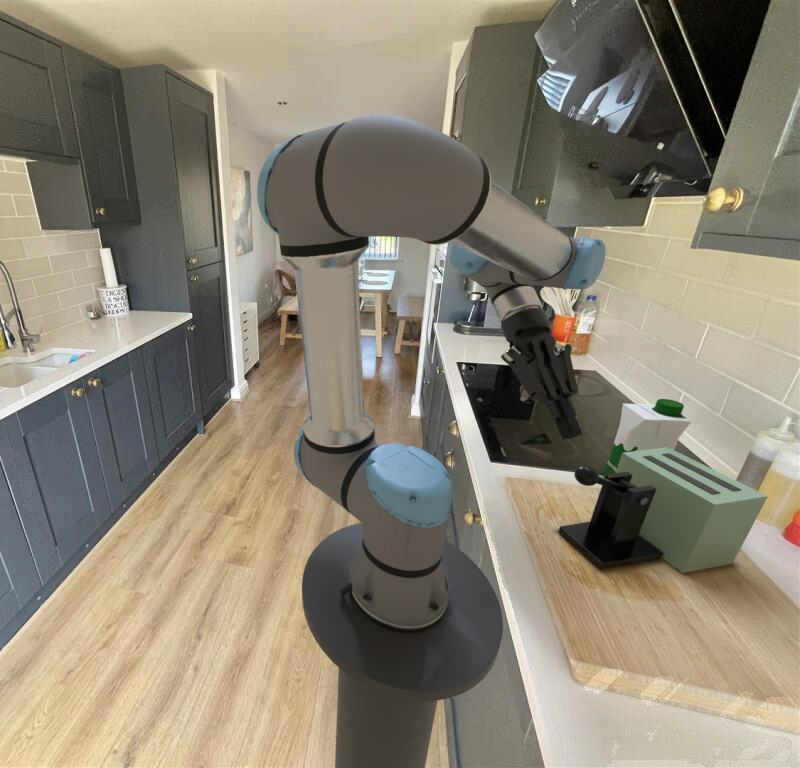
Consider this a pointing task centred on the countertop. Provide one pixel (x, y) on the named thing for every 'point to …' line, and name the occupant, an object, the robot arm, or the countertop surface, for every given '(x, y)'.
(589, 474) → the black lever handle
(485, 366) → the countertop surface
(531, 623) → the countertop surface
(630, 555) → the lever bracket
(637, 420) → the milk carton
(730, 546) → the toaster
